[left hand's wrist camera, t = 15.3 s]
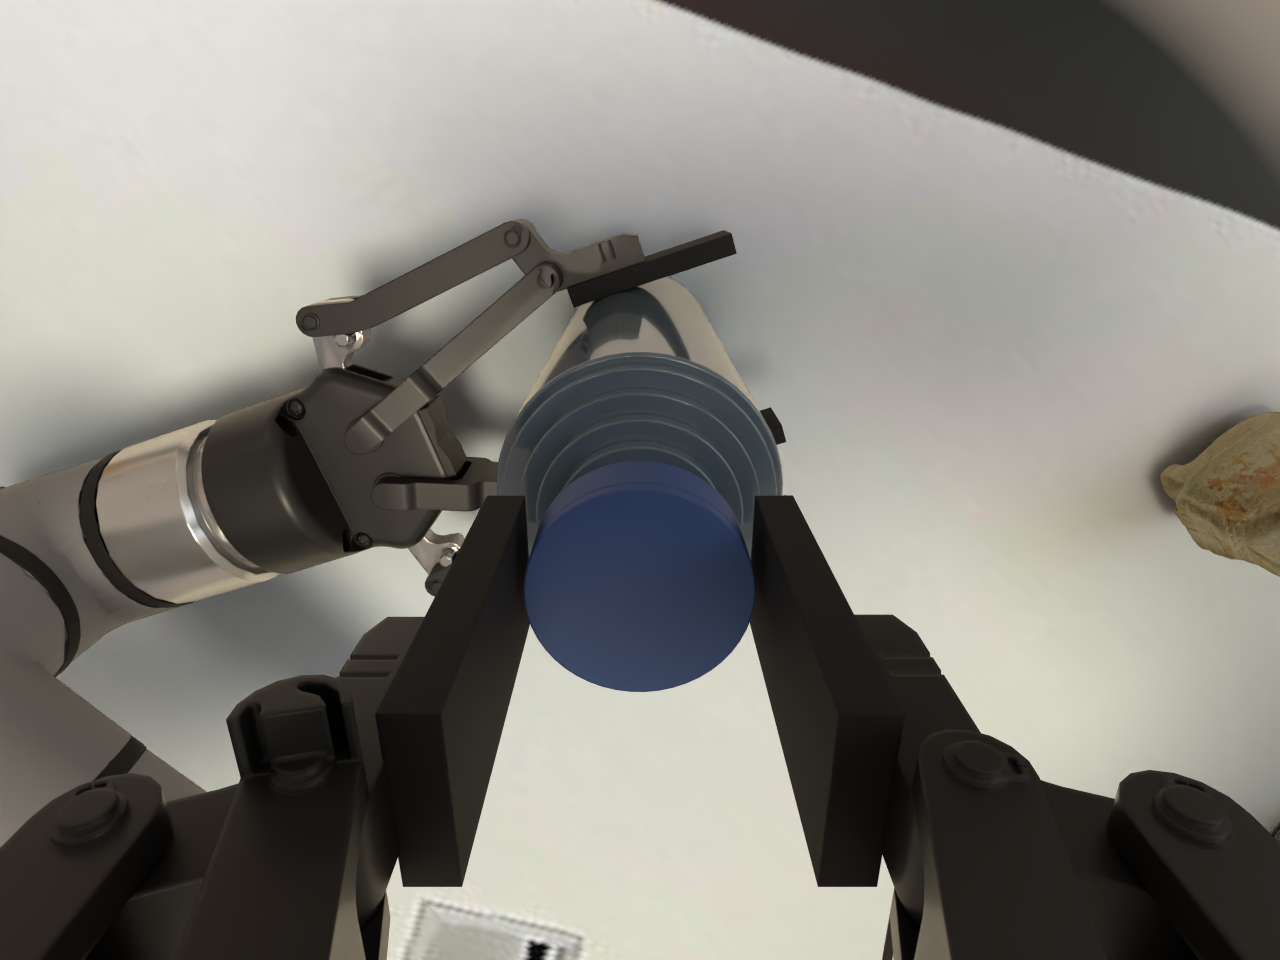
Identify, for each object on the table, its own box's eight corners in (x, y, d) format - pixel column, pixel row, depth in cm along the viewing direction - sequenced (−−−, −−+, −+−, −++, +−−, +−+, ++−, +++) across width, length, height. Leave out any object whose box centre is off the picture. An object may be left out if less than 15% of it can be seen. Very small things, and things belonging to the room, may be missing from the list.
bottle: (577, 417, 38) (485, 744, 15) (561, 277, 35) (419, 420, 13) (713, 406, 38) (824, 721, 15) (706, 264, 35) (828, 386, 12)
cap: (730, 653, 16) (739, 700, 14) (531, 639, 15) (520, 685, 14) (758, 468, 14) (772, 498, 13) (538, 450, 14) (526, 480, 12)
